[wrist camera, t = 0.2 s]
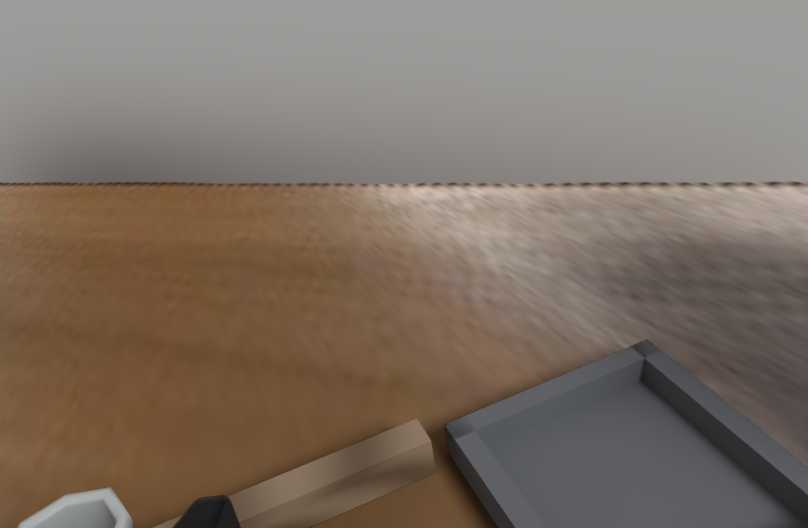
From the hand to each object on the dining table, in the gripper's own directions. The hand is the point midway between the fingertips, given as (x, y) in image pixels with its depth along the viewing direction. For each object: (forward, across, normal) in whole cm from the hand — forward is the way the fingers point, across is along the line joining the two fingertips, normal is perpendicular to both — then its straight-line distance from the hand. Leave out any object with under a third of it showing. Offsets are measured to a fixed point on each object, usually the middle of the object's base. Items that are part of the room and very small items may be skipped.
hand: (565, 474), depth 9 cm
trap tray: (+13, -6, +16) cm, 21 cm away
